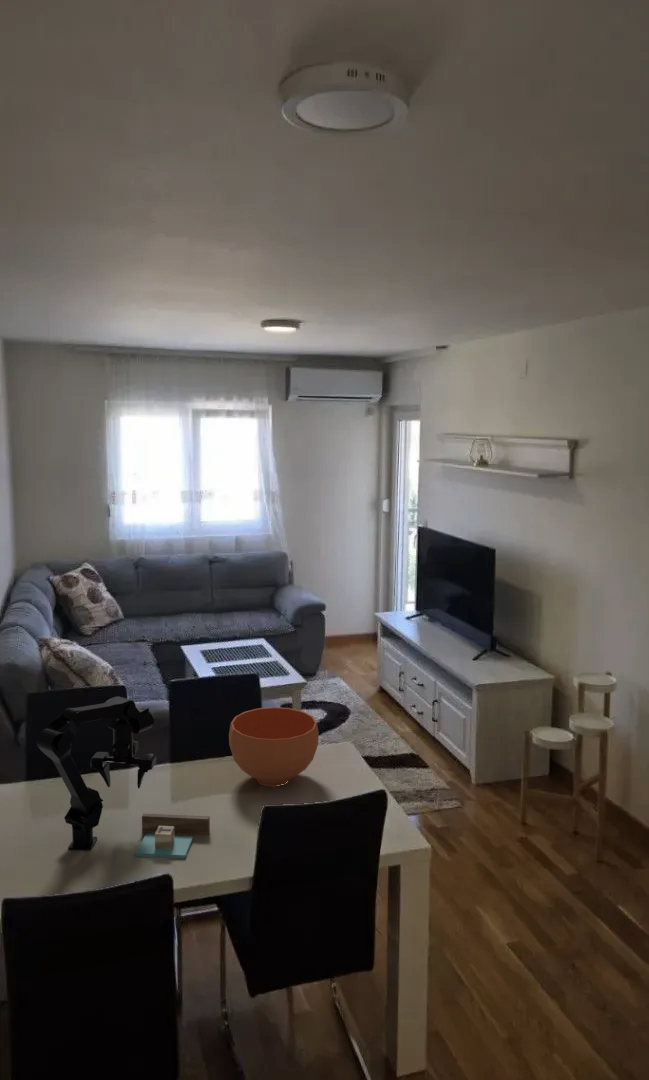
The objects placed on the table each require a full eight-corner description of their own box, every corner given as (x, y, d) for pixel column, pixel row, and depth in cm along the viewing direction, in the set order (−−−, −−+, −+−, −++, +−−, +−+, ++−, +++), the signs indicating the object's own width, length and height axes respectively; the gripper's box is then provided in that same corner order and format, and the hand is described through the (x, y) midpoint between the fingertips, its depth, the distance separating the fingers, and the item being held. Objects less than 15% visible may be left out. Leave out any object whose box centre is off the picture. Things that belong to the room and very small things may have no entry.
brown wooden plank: (208, 834, 233) (208, 819, 232) (142, 831, 234) (141, 816, 233) (209, 831, 235) (209, 816, 234) (143, 829, 236) (143, 813, 235)
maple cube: (170, 849, 223) (170, 834, 222) (155, 848, 223) (154, 833, 222) (174, 840, 227) (174, 826, 227) (159, 840, 228) (158, 825, 227)
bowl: (333, 773, 275) (334, 717, 272) (286, 808, 249) (286, 747, 246) (262, 754, 290) (263, 700, 287) (211, 785, 264) (211, 727, 261)
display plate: (185, 858, 220) (185, 855, 220) (136, 856, 221) (135, 853, 221) (192, 839, 230) (192, 836, 230) (145, 837, 231) (145, 834, 231)
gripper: (160, 729, 243) (161, 776, 246) (101, 727, 244) (102, 774, 247) (150, 743, 232) (151, 793, 235) (89, 741, 233) (90, 790, 236)
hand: (124, 787), depth 238 cm, fingers open, 9 cm apart
